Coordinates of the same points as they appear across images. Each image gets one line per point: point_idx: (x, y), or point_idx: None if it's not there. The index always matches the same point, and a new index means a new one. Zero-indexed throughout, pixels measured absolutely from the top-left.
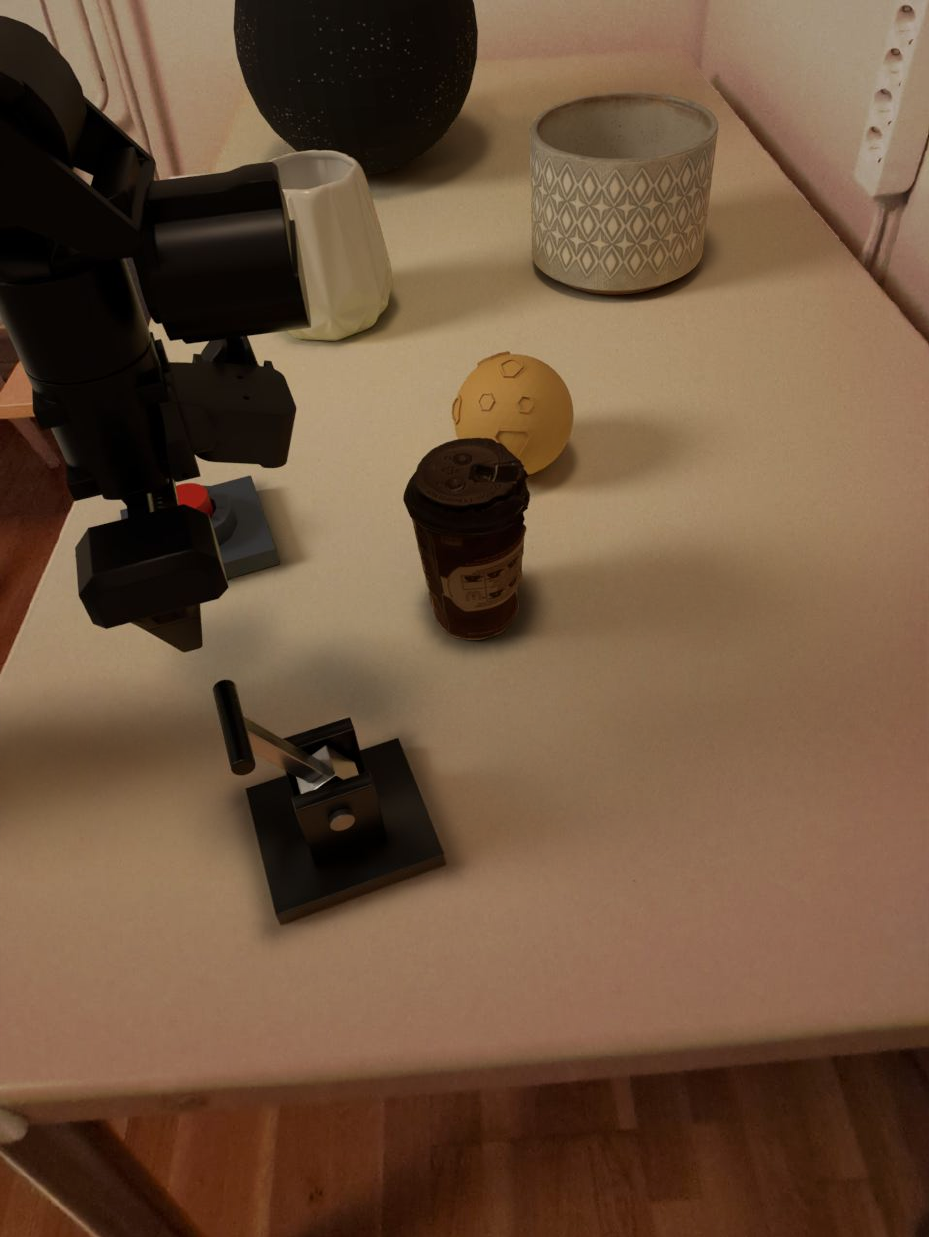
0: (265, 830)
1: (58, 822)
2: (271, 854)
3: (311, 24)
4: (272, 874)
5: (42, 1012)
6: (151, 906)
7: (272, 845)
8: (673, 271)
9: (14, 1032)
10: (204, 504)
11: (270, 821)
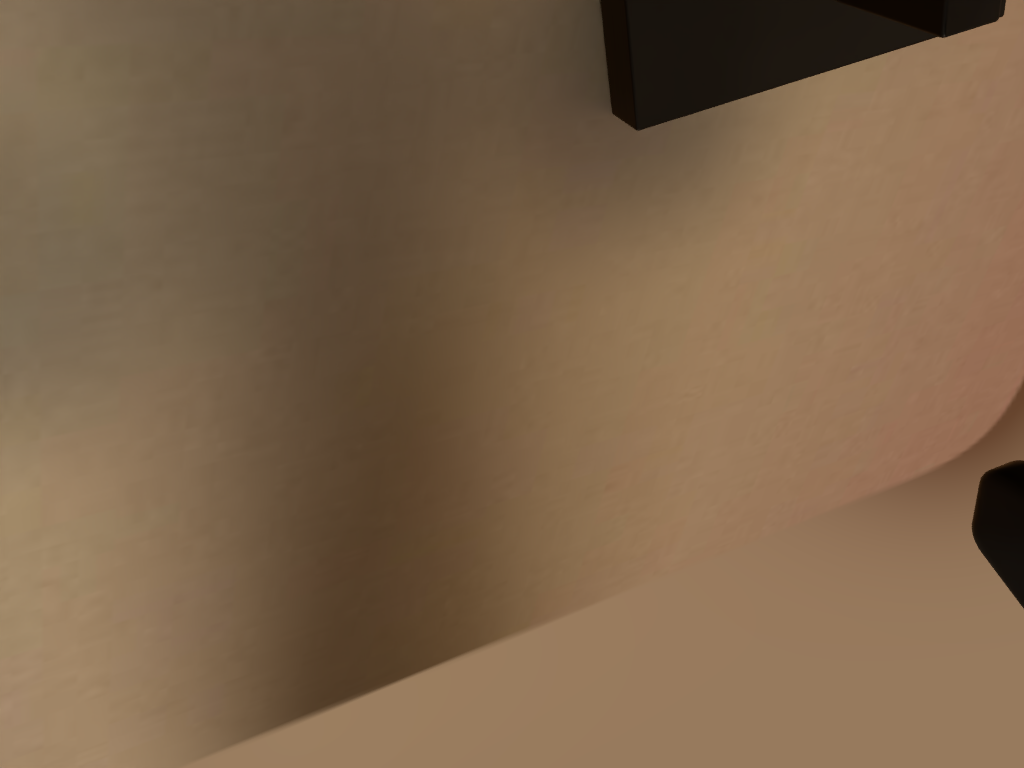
0: (786, 58)
1: (556, 544)
2: (856, 36)
3: None
4: (908, 30)
5: (917, 438)
6: (809, 306)
7: (834, 34)
8: None
9: (927, 467)
10: None
11: (765, 44)
